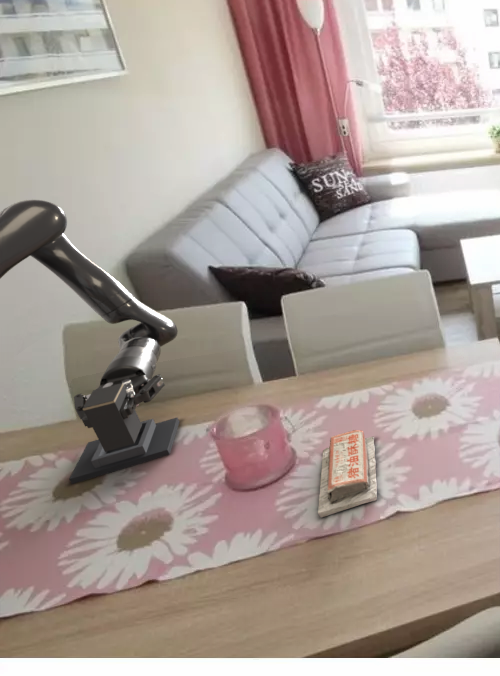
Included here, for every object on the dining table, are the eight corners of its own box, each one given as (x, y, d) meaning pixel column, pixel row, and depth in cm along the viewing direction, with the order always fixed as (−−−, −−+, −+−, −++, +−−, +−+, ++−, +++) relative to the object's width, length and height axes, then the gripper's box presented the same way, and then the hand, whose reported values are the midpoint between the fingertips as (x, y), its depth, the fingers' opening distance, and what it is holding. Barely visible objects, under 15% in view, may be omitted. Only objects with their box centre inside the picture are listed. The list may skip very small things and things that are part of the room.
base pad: (72, 484, 106) (64, 471, 105) (90, 447, 116) (84, 435, 115) (169, 455, 113) (164, 442, 112) (179, 422, 123) (174, 410, 121)
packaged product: (318, 436, 110) (370, 422, 113) (324, 454, 111) (374, 440, 115) (312, 500, 94) (373, 481, 98) (319, 520, 96) (378, 501, 100)
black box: (104, 452, 98) (82, 408, 94) (114, 432, 103) (92, 390, 99) (134, 443, 100) (113, 400, 96) (142, 424, 105) (122, 382, 101)
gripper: (78, 366, 106) (45, 415, 92) (166, 346, 112) (147, 389, 98) (94, 397, 109) (64, 449, 95) (178, 376, 115) (162, 422, 101)
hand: (106, 418), depth 97 cm, fingers closed on black box, 4 cm apart
